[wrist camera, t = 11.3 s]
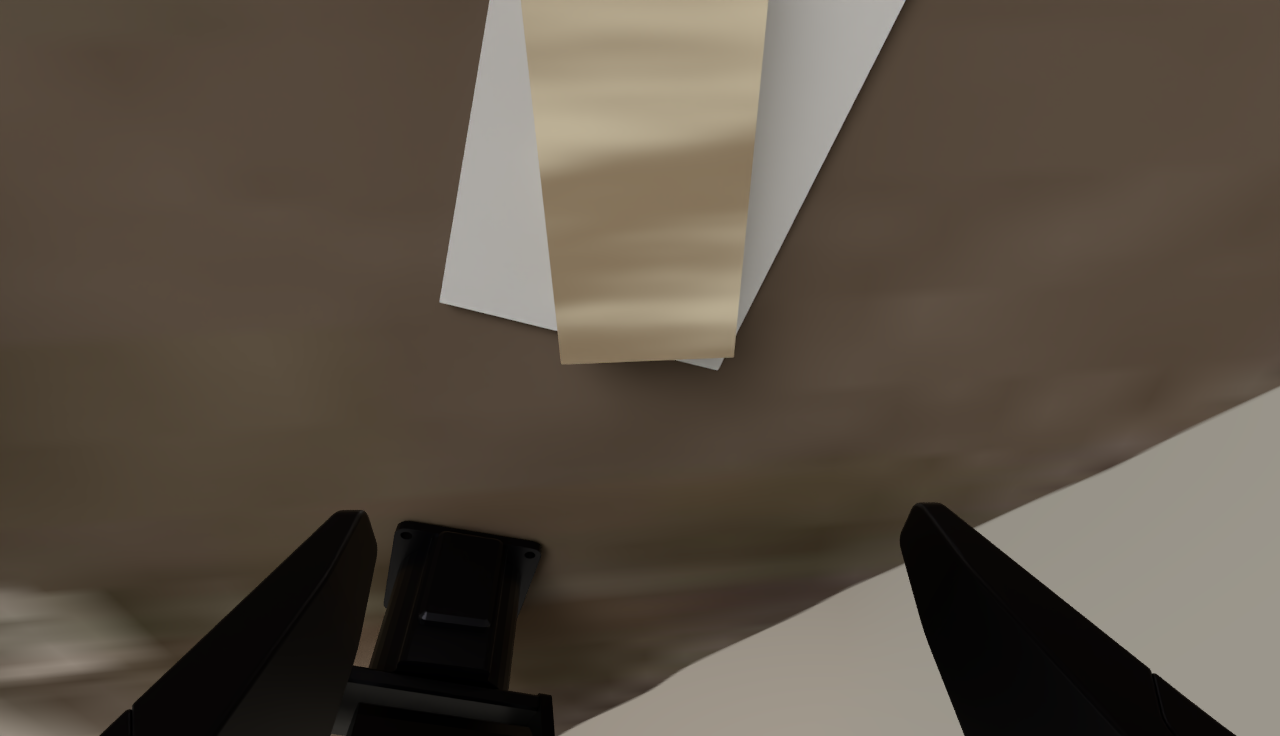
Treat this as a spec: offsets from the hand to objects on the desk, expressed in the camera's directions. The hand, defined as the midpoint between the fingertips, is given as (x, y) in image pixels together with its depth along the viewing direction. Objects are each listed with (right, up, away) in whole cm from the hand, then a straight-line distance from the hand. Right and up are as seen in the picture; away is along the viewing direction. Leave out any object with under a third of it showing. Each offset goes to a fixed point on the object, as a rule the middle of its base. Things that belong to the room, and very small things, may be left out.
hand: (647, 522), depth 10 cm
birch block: (0, +4, +9) cm, 10 cm away
